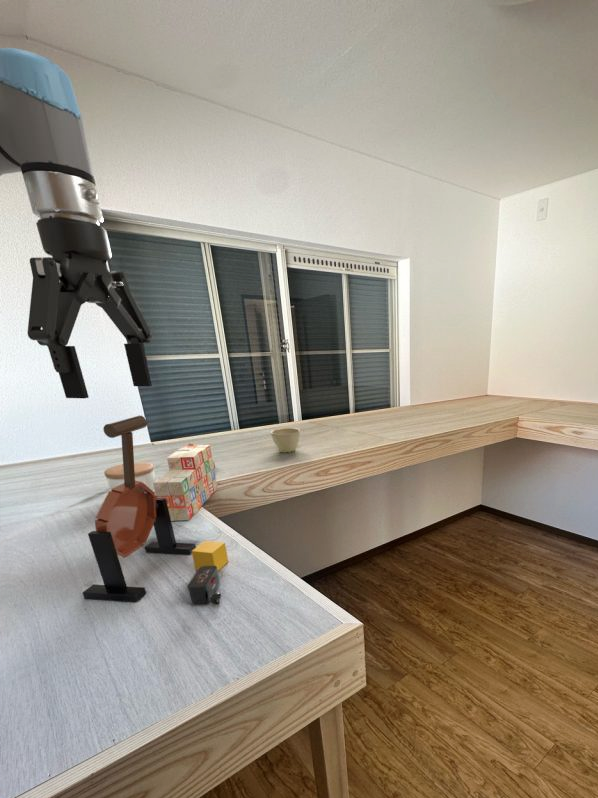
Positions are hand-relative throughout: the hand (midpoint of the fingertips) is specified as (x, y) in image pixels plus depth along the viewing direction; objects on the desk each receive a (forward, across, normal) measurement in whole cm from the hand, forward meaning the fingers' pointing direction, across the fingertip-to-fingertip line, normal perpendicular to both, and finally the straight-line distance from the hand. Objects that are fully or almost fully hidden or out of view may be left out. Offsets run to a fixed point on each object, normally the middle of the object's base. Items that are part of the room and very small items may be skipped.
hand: (113, 391), depth 62 cm
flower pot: (+31, +80, +4) cm, 86 cm away
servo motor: (+30, -7, -14) cm, 34 cm away
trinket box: (+31, +32, +27) cm, 53 cm away
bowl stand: (+30, -2, +1) cm, 31 cm away
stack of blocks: (+31, +30, +10) cm, 44 cm away
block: (+28, +1, -12) cm, 31 cm away
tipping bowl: (+15, -1, +2) cm, 15 cm away
